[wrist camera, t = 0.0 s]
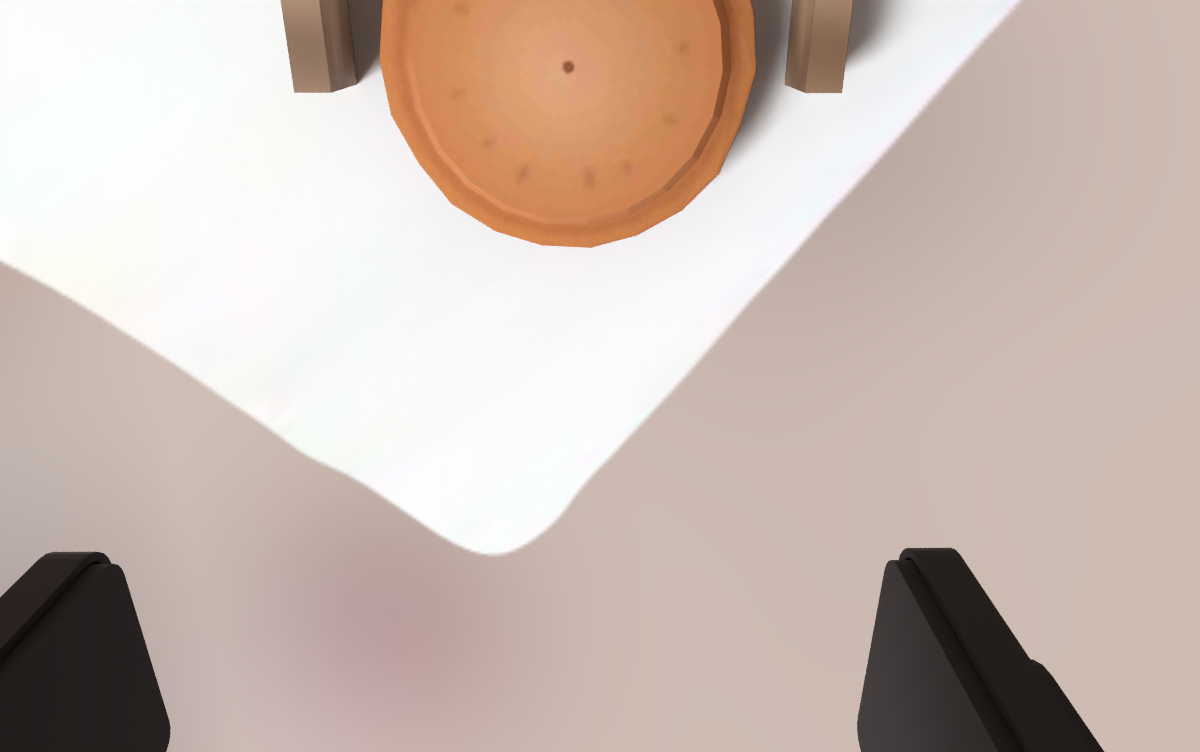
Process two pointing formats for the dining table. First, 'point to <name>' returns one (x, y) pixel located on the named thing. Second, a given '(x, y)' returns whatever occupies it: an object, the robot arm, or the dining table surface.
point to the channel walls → (329, 66)
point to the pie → (569, 107)
